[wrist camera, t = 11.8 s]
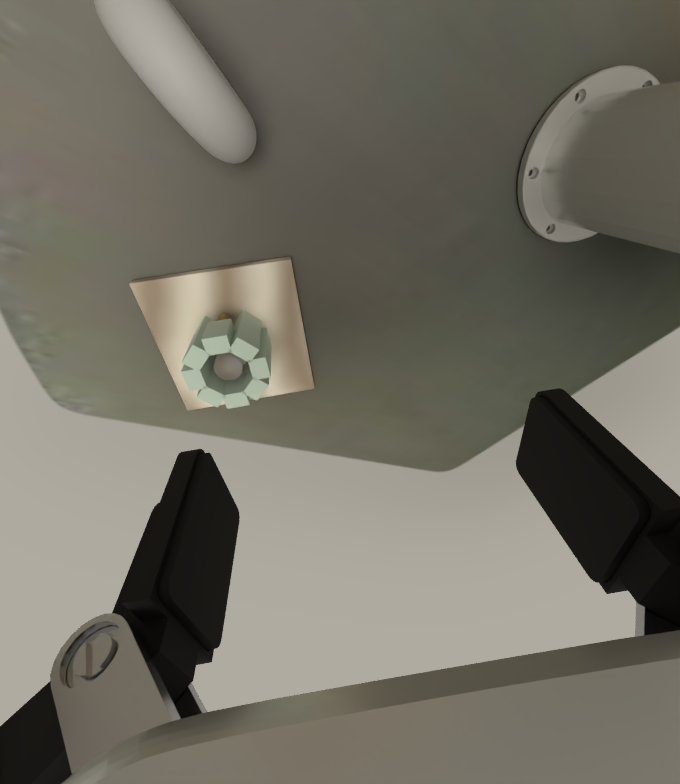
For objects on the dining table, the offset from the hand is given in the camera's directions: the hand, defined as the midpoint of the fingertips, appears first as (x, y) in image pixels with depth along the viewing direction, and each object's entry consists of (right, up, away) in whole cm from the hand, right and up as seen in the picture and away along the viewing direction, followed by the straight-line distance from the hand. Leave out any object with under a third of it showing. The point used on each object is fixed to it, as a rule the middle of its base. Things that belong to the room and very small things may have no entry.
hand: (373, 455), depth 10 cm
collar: (-11, +7, +24) cm, 28 cm away
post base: (-12, +7, +25) cm, 28 cm away
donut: (-11, +23, +14) cm, 29 cm away
